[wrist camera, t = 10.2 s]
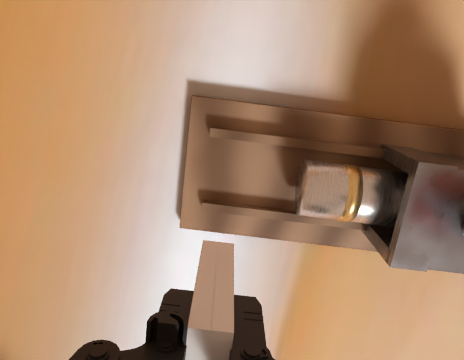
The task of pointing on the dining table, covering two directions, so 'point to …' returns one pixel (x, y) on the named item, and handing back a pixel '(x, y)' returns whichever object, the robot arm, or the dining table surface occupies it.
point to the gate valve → (425, 213)
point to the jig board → (283, 166)
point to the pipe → (349, 193)
